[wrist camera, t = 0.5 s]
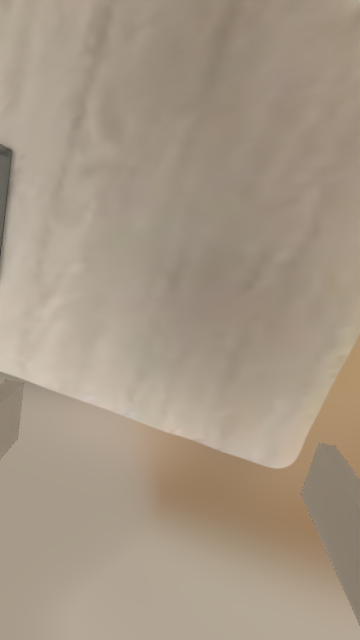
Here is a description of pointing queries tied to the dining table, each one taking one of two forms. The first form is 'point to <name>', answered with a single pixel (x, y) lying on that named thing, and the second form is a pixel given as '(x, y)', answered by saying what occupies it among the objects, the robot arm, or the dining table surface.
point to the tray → (3, 183)
